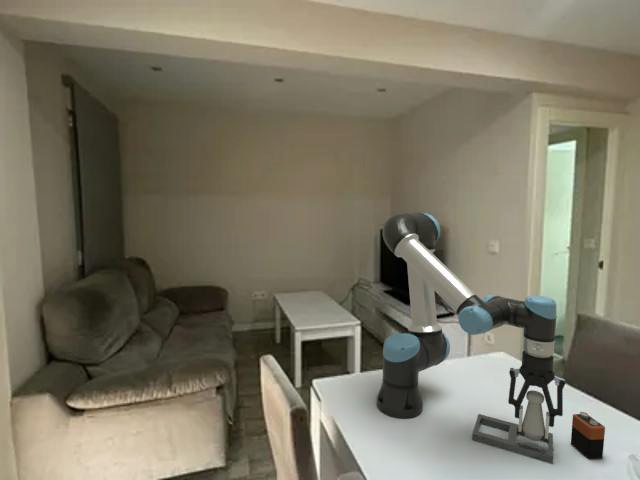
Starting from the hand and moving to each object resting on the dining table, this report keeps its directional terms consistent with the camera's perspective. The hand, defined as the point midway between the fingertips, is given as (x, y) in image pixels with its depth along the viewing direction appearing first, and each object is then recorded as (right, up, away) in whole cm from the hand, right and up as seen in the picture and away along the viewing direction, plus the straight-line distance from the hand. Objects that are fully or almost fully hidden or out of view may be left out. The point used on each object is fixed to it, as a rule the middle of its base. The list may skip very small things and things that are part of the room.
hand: (533, 432), depth 108 cm
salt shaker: (0, -2, 0) cm, 2 cm away
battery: (+14, -4, -2) cm, 14 cm away
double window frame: (-4, -4, +3) cm, 6 cm away
